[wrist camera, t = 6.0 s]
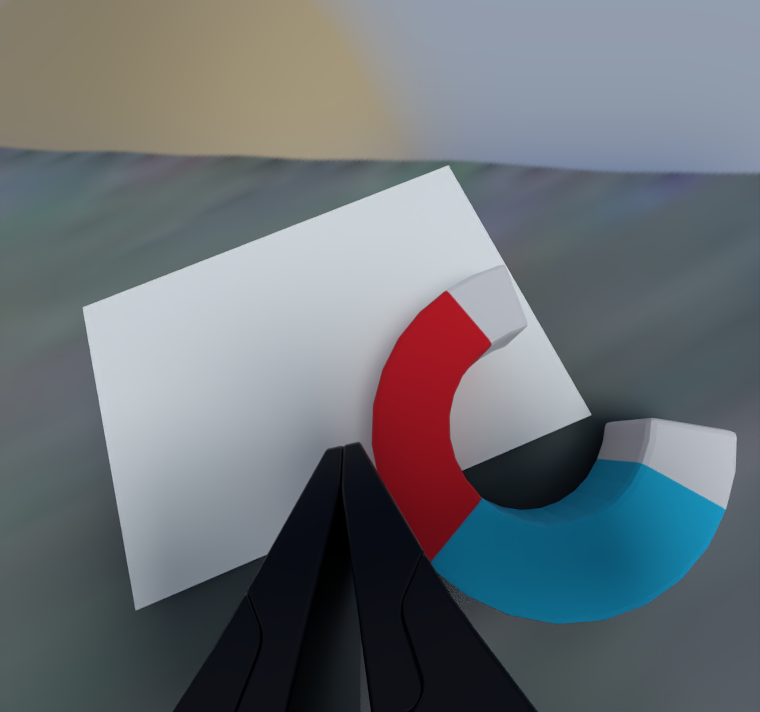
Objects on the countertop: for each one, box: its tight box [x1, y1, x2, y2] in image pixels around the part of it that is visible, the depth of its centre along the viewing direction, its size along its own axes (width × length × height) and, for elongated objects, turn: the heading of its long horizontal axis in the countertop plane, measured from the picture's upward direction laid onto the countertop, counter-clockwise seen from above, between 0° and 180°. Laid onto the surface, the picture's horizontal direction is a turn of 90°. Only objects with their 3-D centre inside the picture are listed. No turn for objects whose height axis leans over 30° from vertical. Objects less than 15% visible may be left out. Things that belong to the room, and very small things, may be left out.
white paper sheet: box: [83, 166, 591, 610], centre depth 16 cm, size 14×20×1 cm
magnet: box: [372, 265, 737, 624], centre depth 13 cm, size 12×3×10 cm
